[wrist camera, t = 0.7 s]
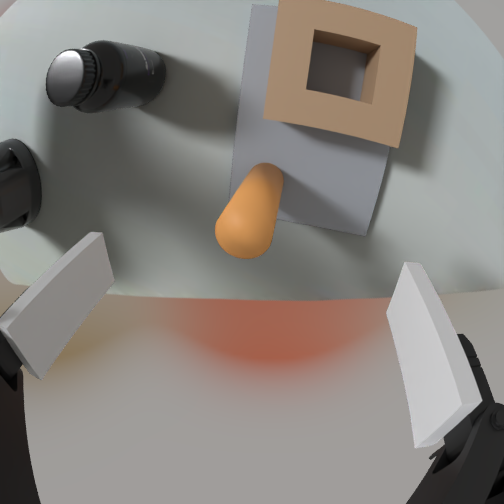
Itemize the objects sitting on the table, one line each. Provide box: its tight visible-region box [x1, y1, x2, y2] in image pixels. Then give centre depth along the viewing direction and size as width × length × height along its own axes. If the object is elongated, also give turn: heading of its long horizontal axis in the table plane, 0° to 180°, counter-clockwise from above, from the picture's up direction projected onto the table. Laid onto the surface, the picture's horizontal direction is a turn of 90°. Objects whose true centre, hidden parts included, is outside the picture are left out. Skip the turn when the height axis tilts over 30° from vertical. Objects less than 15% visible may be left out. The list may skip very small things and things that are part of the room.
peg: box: [215, 163, 284, 259], centre depth 23 cm, size 4×4×12 cm
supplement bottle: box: [46, 40, 166, 113], centre depth 20 cm, size 7×7×12 cm
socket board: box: [229, 0, 417, 236], centre depth 22 cm, size 15×22×6 cm
